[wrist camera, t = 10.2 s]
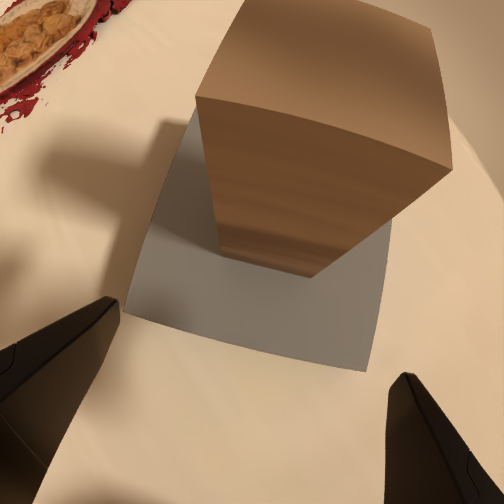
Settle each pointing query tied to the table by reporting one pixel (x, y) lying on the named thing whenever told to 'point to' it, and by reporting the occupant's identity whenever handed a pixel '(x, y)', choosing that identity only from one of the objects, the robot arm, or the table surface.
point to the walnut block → (318, 128)
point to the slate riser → (251, 280)
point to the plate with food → (43, 43)
